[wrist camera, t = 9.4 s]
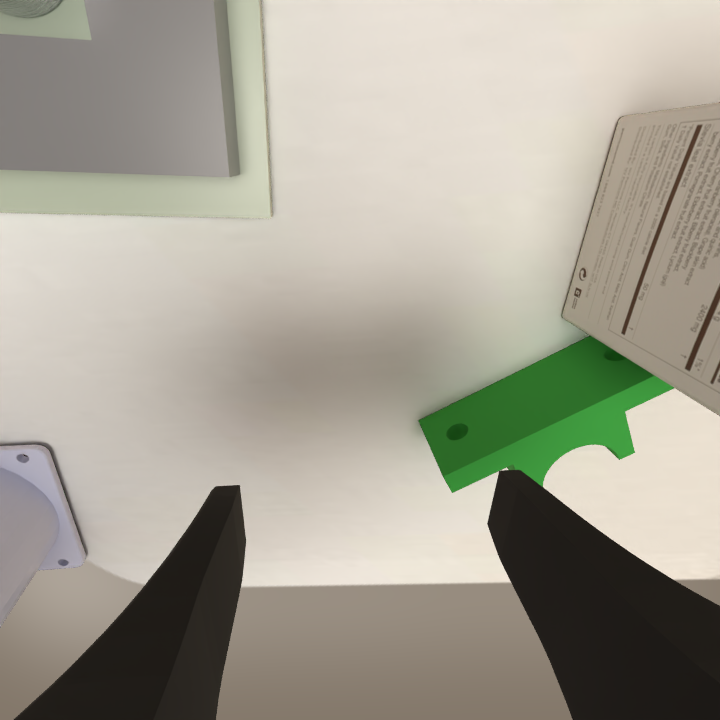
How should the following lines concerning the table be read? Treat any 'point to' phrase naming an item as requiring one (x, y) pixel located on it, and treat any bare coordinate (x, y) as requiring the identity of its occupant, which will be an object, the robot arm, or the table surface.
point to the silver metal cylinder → (27, 7)
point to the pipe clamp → (541, 415)
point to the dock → (135, 110)
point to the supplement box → (657, 250)
